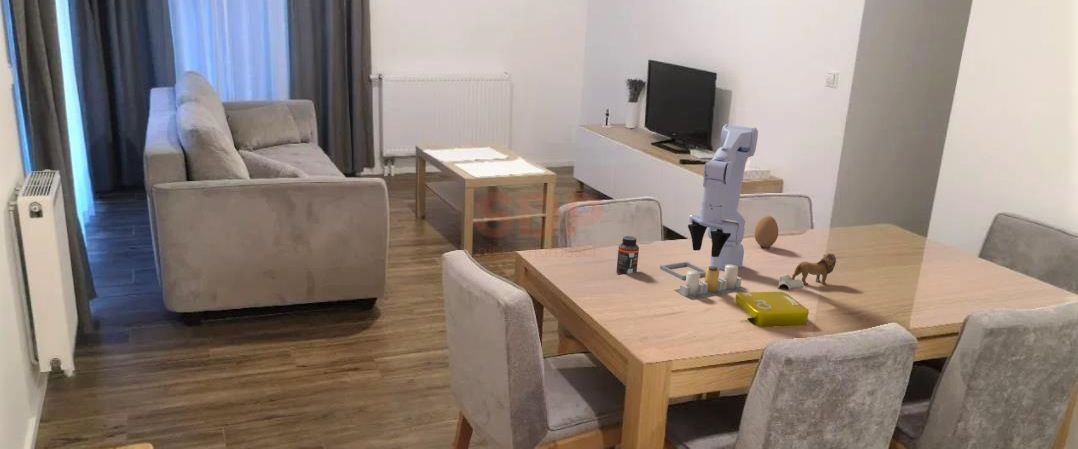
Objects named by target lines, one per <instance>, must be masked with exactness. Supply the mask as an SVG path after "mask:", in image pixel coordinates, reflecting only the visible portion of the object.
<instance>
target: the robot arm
mask: <svg viewBox="0 0 1078 449" xmlns="http://www.w3.org/2000/svg"><path fill="white" fill-rule="evenodd" d="M720 132H721V133H720V144H721V147H719V148H717V149H716V151H715V153H714V155H713V157H712V158H711V159H710V160H709V161H706V162H705V164H704V167H703V181H702V182H703V183H702V185H703V192H702V201H701V202H702V203H701V209H700V215H689V223H691V224H688V225H687V228H688V231H689V233H690V238H691V244H692V251H701V248H702V244H703V240H704V236H705V233H706V230H708V233H707V236H708V238H709V240H711V252H710V254H711V255H710V263H709V266H715V267H717V268H718V269H719V270H723V271H725V265H729V264H730V265H736V266H738V268H742V267H743V262H744V255H745V248H744V246H743V244H742V242H743V240H744V235H745V226H746V225H745V224H746V221H745V218H744V216H743V215H741V213H739V211H738V210H739V204H740V197H741V191H742V187H743V182H744V181H743V180H744V174H745V169H746V164H747V161H748V159H749V158H751V157H753V156H754V155H755V153H756V149H757V145H758V138H759V130H758V129H757V127H748V126H741V125H733V124H732V125H731V124H727V123H725V124H724V125H723V126H722V129H721V131H720ZM722 219H723V220H722ZM727 220H729V221H727ZM733 221H735V222H733Z"/></svg>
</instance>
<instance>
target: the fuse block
mask: <svg viewBox="0 0 1078 449" xmlns="http://www.w3.org/2000/svg"><path fill="white" fill-rule="evenodd" d="M741 284H742V277H739V276H738V275H737V281H736V288H734V289H728V288H727V280H725V279H724V277H719V279H718V287H717V291H716V292H707V291H708V283H705V281H704V280H702V281H700V280H699V288H698V295H696V296H691V295H688V290H689V287H687V286H685V284H680V286H679V288H677V289H673V291H674V292H676V293H678V294H680V295H682V296H684V297H686V298H688V299H690V300H692V301H694V300H698V299H699V300H700V299H705V298H711V297H717V296H721V295H727V294H732V293H740V292H744V291H747V289H746V288H744V287H742V286H741Z"/></svg>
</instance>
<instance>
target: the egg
mask: <svg viewBox="0 0 1078 449" xmlns="http://www.w3.org/2000/svg"><path fill="white" fill-rule="evenodd" d="M778 237H779V227H778V223H777V221H776V219H775V218H774V217H772V216H771V215H765V216H763V217H762V218H760V219H759V220H758V222H757V223H756V225H755V229H754V239H755V241H756V243H757V244H758V245H759V246H760V247H762V248H763V249H764V248H765V249H766V248H767V249H768V248H769V247H772V246H773V245H774V244H775V243H776V241H777V239H778Z"/></svg>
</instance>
